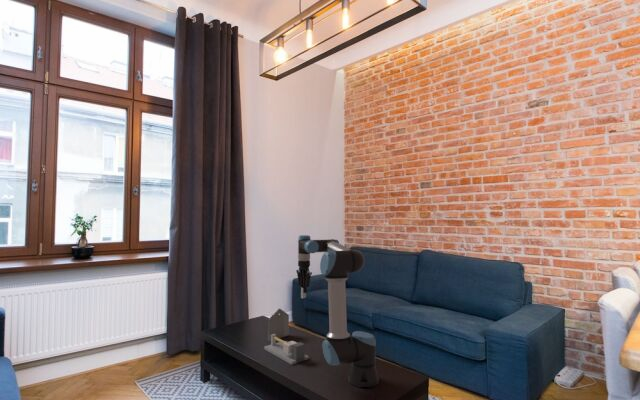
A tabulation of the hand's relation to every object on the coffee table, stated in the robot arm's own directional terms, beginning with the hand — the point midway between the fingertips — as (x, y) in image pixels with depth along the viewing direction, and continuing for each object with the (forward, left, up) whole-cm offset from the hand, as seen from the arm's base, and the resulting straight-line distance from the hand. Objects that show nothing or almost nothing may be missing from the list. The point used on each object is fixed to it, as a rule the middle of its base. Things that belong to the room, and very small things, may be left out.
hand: (303, 297), depth 223 cm
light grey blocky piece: (-4, +16, -29) cm, 34 cm away
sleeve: (-10, +17, -26) cm, 32 cm away
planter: (+23, +5, -30) cm, 38 cm away
